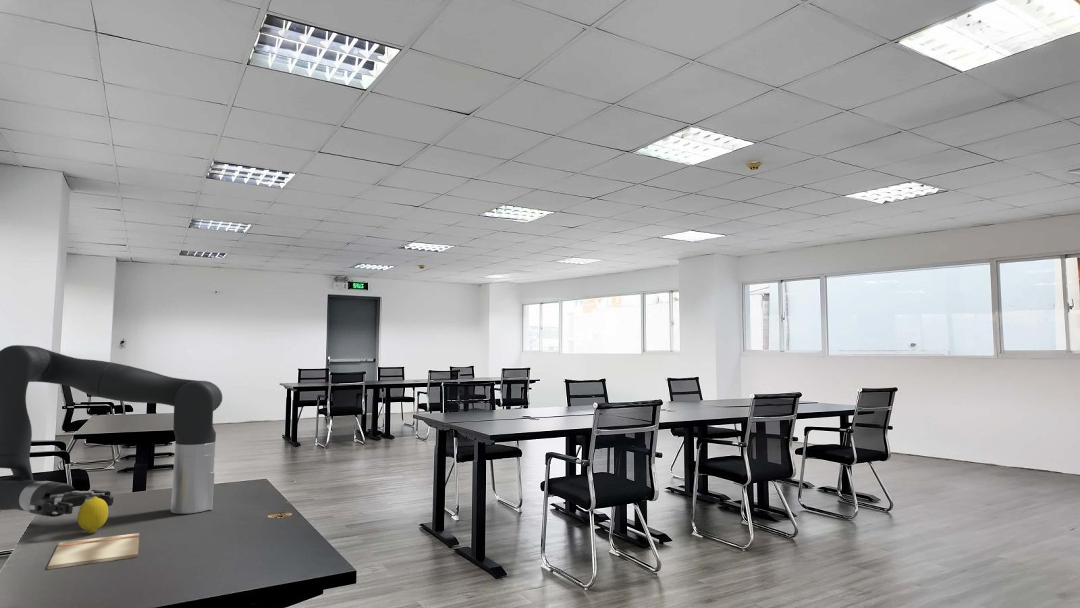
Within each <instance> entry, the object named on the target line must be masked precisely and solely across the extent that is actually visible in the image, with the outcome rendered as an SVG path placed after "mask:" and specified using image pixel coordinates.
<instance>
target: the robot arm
mask: <svg viewBox="0 0 1080 608" xmlns="http://www.w3.org/2000/svg"><path fill="white" fill-rule="evenodd" d="M29 383H48V384H55V385H62V386H66V387H67V386H68V387H70V388H73V389H75V390H78V391H80V392H83V393H84V394H87V395H90V396H94V397H97V398H101V399H105V400H106V399H107V400H111V401H112V400H113V401H117V402H126V403H127V402H128V403H136V404H137V403H139V404H140V403H141V404H146V403H147V404H160V405H167V406H170V407H173V433H174V437H175V442H174V443H175V444H174V455H173V456H174V457H173V471H172V486H171V501H170V513H172V514H183V515H184V514H196V513H200V512H205V511H211V510H213V502H214V487H215V456H216V455H215V454H216V453H215V452H216V442H217V441H216V440H217V439H216V438H217V432H216V430H215V429H214V421H213V420H214V411H216V410H217V409H218V408H219V407H220V406H221V404H222V401H223V394H222V390H221V389H220V388H219V386H217V384H215V383H213V382H211V381H208V380H196V379H195V380H194V379H187V378H180V377H179V378H178V377H172V376H168V375H163V374H161V373H157V372H154V371H150V370H147V369H142V368H138V367H135V366H132V365H131V366H130V365H126V364H121V363H116V362H110V361H104V360H99V359H97V360H95V359H85V358H78V357H72V356H68V355H65V354H63V353H59V352H56V351H52V350H50V349H46V348H43V347H40V346H35V345H23V344H21V345H19V344H16V345H8V346H5V347H4V348H2V349H1V350H0V469H10V471H11V472H12V476H8V477H0V511H2V510H3V511H4V510H5V511H7V510H18V511H23V512H28V513H30V514H33V515H38V516H39V515H40V516H42V517H43V516H45V517H51V518H57V517H60V516H63V515H71V514H72V513H73V510H77V509H80V507H81V506H82V504H83V503H84V502H86V501H87V500H89V499H91V498H92V497H94V496H96V497H97V498H100V499H103V500H104V501H105V502H106V503H107V506H108V507H110V506H112V505H113V504H114V495H111V493H112V492H111V491H110V490H100V489H91V490H90V491H89V490H88V491H80V490H76V489H75V487H74V486H73V485H72V484H70V483H65V482H59V481H49V480H44V481H43V480H34V475H33V471H32V466H31V461H30V459H31V458H30V455H31V447H32V438H33V437H32V436H33V433H32V432H33V430H32V429H33V428H32V424H31V420H30V419H31V418H30V415H29V413H28V409H27V390H28V385H29Z"/></svg>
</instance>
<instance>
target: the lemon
mask: <svg viewBox="0 0 1080 608" xmlns="http://www.w3.org/2000/svg"><path fill="white" fill-rule="evenodd" d="M108 517H109V506H107V503H106V502H105V501H104V500H103V499H100V498H97V497H96V496H94V497H92V498H91V499H89V500H88V499H86V500H85V502H84V503H83V504H82V506H81V507H80V508H79V510H78V514H77V523H78V526H79V527H80V528H81V529H82V530H84V531H86V532H88V533H89V534H93V533H95V532H96V531H97V530H98V529H100V528H101V527H103V526H104V525H105V523H106V522H107V520H108Z"/></svg>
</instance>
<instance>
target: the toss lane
mask: <svg viewBox="0 0 1080 608" xmlns="http://www.w3.org/2000/svg"><path fill="white" fill-rule="evenodd" d="M139 546H140V532H137V533H129V534H127V533H126V534H122V535H111V536H104V537H95V538H87V539H86V538H85V539H79V540H78V539H77V540H71V541H70V540H69V541H61V542H60V541H59V543H58V545H57V547H56V548H55V550H54V553H53V555H52V557H51V559H50V560H49V563H48V565H47V566H46V570H53V569H60V568H68V567H77V566H83V565H89V564H90V565H91V564H98V563H106V562H112V561H120V560H125V559H127V560H128V559H134V558H138V557H139Z"/></svg>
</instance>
